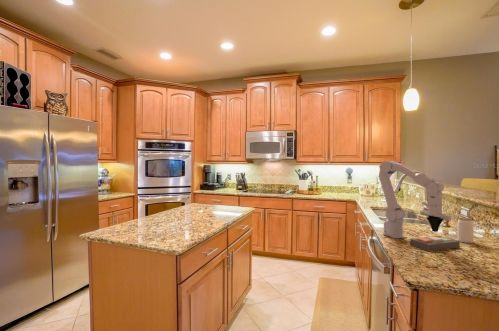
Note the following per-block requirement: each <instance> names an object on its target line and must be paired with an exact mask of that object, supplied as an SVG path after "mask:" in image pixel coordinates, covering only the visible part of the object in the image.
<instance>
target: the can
mask: <svg viewBox="0 0 499 331" xmlns="http://www.w3.org/2000/svg"><path fill="white" fill-rule="evenodd" d="M456 226H457V232H456V233H457V241H460V243H465V244H473V243H474V221H473V219H471V218H465V217H463V218H462V217H459V218H458V219H457V224H456Z"/></svg>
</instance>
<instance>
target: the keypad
mask: <svg viewBox="0 0 499 331" xmlns="http://www.w3.org/2000/svg"><path fill="white" fill-rule="evenodd" d="M427 237H428V236H426V237H425V236H424V237H422V238H427ZM432 237H437V238H441V237H444V238H447V239H451V240H449V241H444V240H442V241H440V242H434V241H432V242H431V243H423V242H420V241H417V238H418V237H417V238H416V237H415V238H414V237H413V238H410V239H409V245H411V246H413V247H415V248H419V249H421V250H424V251H427V252H432V251H441V250H448V249H449V250H450V249H456V248H460V246H461V244H460V243H461V242H460V241H458V239H457V240H456V239H454V238H449V237H445V236H442V235H436V236H432Z"/></svg>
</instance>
